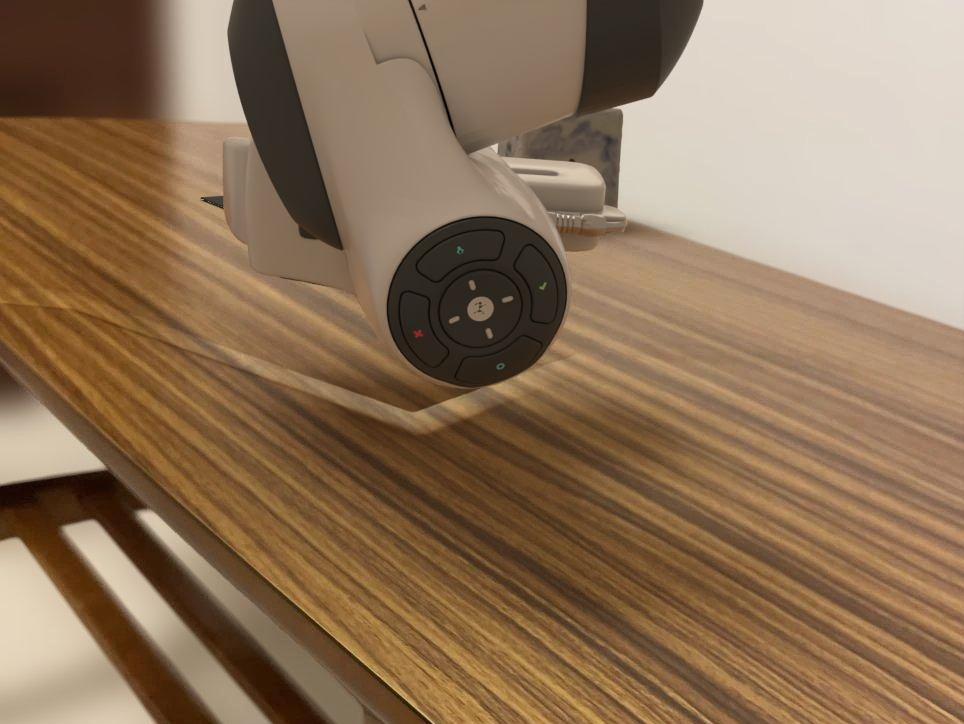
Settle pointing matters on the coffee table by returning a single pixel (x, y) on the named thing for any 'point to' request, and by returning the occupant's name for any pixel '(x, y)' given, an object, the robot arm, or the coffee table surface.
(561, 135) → the incense holder
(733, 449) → the coffee table surface
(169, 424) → the coffee table surface
